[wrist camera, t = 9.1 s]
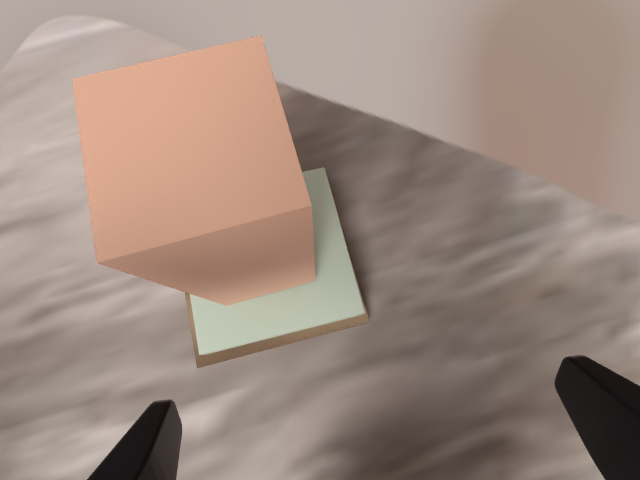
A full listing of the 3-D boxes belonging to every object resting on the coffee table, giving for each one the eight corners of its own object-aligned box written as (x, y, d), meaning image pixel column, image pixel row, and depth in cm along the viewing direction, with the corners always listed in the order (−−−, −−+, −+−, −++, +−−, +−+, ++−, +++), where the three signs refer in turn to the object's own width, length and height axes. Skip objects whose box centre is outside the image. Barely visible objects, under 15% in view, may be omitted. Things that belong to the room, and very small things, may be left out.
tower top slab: (360, 315, 22) (364, 312, 20) (206, 354, 21) (199, 354, 19) (323, 177, 24) (324, 167, 22) (182, 207, 23) (174, 198, 21)
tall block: (315, 280, 20) (311, 205, 9) (226, 306, 20) (97, 262, 8) (292, 198, 21) (261, 35, 10) (208, 220, 21) (72, 79, 9)
